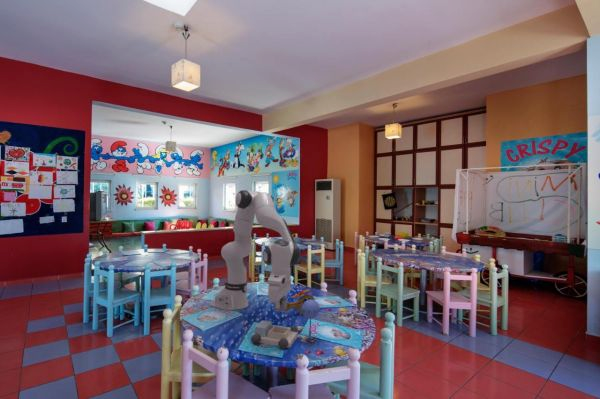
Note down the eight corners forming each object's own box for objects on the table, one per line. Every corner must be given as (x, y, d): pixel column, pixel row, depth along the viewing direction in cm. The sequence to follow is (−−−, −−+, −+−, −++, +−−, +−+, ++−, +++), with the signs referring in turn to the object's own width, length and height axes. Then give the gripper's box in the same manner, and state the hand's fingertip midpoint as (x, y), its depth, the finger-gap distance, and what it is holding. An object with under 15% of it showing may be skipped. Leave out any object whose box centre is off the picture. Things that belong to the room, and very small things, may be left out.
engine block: (273, 310, 143) (273, 297, 143) (276, 307, 147) (277, 295, 147) (283, 311, 142) (284, 298, 142) (286, 308, 145) (287, 296, 145)
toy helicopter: (317, 313, 177) (318, 289, 177) (285, 320, 166) (286, 295, 166) (309, 309, 184) (310, 286, 184) (278, 315, 173) (279, 290, 173)
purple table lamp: (299, 334, 150) (300, 297, 150) (317, 334, 151) (318, 297, 151) (301, 342, 142) (302, 303, 141) (320, 342, 142) (321, 303, 142)
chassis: (249, 343, 140) (250, 330, 140) (264, 329, 155) (264, 317, 155) (287, 350, 135) (288, 336, 135) (298, 334, 150) (299, 322, 150)
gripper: (282, 270, 155) (281, 298, 155) (265, 280, 135) (265, 312, 136) (294, 271, 153) (293, 299, 153) (279, 282, 134) (278, 314, 134)
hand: (280, 306), depth 144 cm, fingers closed on engine block, 4 cm apart
